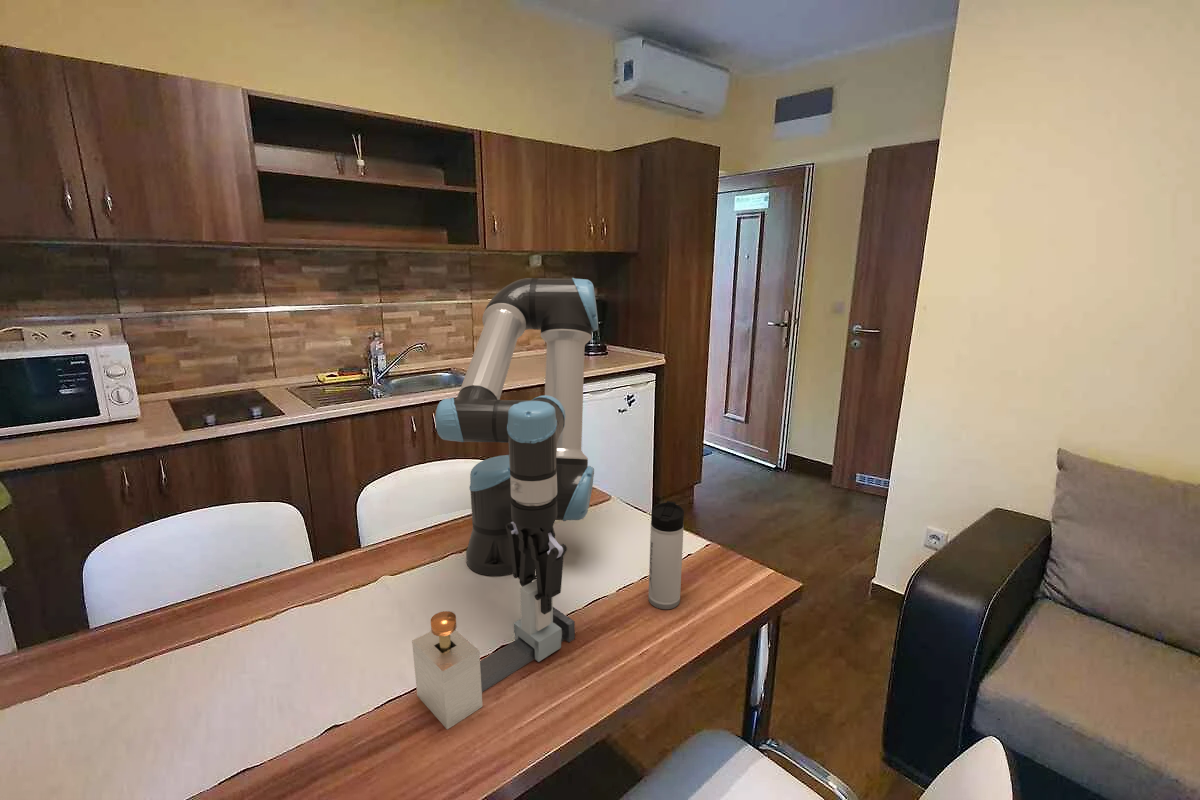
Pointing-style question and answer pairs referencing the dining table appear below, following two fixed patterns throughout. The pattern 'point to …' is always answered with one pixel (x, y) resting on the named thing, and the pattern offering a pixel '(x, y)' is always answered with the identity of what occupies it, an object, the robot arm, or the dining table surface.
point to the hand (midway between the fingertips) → (537, 622)
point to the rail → (468, 670)
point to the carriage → (525, 627)
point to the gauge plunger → (443, 628)
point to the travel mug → (666, 555)
